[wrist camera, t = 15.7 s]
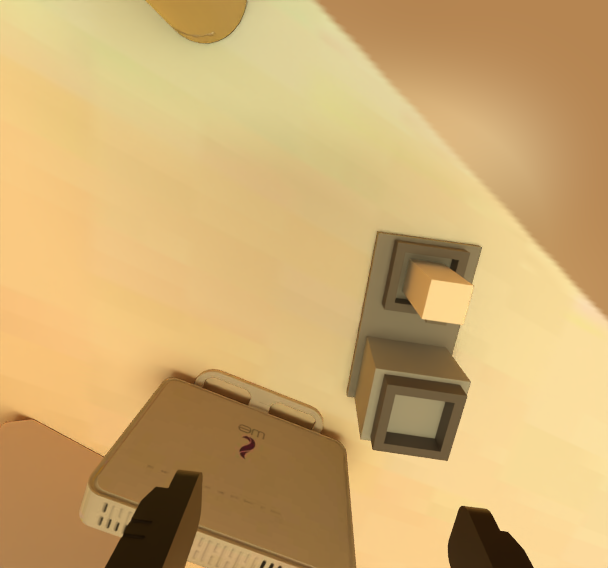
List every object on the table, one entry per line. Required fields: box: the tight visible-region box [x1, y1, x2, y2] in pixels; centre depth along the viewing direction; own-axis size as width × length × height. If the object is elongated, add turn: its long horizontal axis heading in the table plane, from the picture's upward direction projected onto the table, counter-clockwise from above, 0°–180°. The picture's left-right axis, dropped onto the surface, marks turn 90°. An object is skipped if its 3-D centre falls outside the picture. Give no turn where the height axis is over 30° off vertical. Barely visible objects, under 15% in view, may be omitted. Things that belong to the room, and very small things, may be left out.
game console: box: [0, 419, 121, 568], centre depth 45 cm, size 6×27×20 cm, turn 57°
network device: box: [79, 369, 356, 568], centre depth 41 cm, size 26×9×20 cm, turn 67°
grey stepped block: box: [347, 232, 482, 461], centre depth 40 cm, size 22×12×11 cm, turn 172°
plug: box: [402, 259, 474, 326], centre depth 39 cm, size 5×4×9 cm
